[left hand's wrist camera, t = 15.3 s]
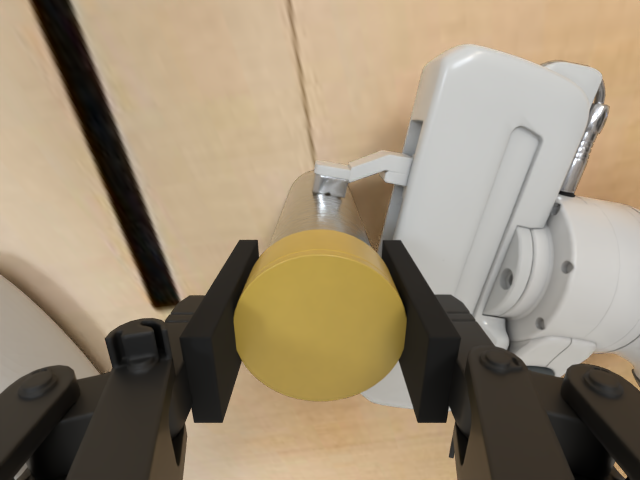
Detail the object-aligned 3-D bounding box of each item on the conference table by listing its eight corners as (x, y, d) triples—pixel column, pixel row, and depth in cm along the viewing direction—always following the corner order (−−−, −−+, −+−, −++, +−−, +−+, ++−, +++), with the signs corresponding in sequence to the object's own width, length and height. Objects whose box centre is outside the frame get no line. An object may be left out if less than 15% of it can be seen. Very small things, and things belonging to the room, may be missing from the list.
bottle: (362, 215, 26) (415, 348, 11) (306, 241, 27) (289, 396, 12) (335, 158, 24) (357, 227, 10) (276, 187, 25) (217, 291, 11)
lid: (341, 198, 11) (345, 218, 9) (420, 313, 13) (439, 353, 11) (216, 280, 12) (195, 315, 10) (303, 378, 14) (300, 425, 12)
